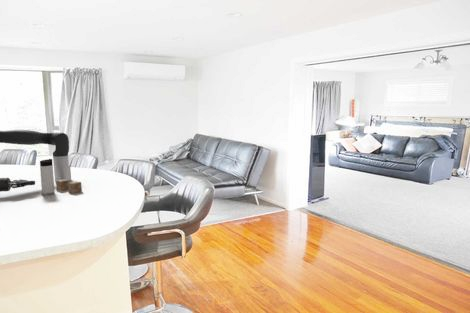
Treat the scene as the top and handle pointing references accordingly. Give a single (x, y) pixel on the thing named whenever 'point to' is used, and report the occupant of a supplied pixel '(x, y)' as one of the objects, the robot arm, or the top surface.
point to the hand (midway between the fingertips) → (34, 182)
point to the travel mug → (47, 177)
